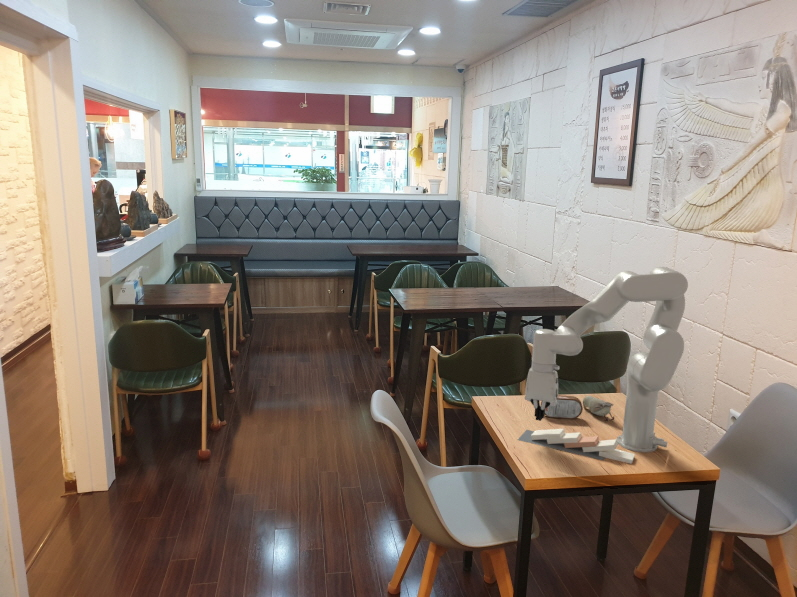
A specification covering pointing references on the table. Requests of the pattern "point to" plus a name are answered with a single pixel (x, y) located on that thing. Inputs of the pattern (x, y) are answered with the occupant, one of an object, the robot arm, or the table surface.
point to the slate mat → (558, 446)
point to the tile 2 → (566, 438)
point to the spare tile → (584, 442)
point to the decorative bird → (597, 406)
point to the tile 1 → (548, 434)
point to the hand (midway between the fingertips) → (539, 419)
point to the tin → (565, 408)
